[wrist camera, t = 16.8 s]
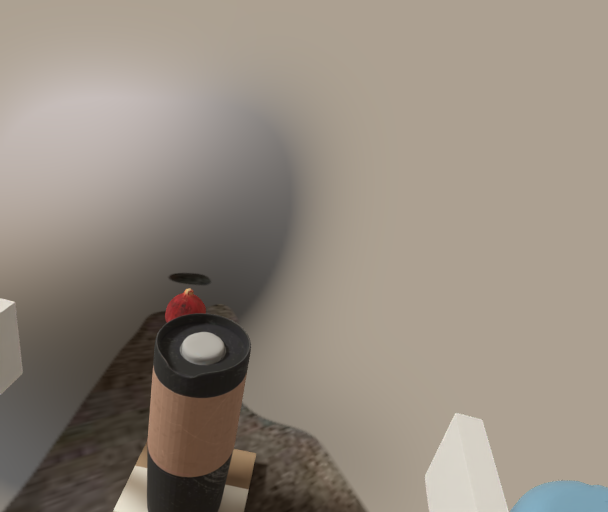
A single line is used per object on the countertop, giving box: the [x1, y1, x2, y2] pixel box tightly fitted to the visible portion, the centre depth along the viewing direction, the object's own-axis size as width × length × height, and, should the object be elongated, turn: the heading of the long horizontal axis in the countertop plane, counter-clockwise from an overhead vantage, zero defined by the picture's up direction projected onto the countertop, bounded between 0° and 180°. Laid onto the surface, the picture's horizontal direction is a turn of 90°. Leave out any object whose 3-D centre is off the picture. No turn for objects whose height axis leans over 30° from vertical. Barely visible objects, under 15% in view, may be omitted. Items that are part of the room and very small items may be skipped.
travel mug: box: [147, 313, 251, 512], centre depth 40 cm, size 8×8×20 cm
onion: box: [165, 288, 206, 323], centre depth 67 cm, size 6×6×8 cm
